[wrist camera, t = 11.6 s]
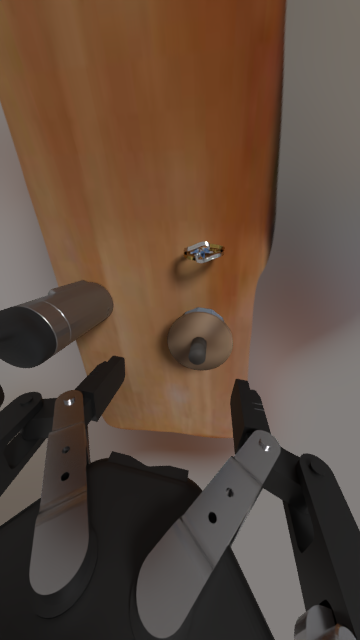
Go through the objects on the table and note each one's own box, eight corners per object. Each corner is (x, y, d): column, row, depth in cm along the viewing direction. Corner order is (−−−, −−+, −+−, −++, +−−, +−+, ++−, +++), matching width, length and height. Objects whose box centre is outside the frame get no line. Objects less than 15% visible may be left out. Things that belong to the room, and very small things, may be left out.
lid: (156, 344, 40) (148, 360, 35) (192, 298, 35) (188, 308, 29) (205, 378, 41) (203, 398, 36) (246, 338, 36) (252, 355, 31)
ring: (186, 257, 37) (179, 261, 30) (187, 240, 36) (180, 240, 28) (221, 260, 36) (223, 265, 29) (224, 242, 35) (226, 243, 28)
